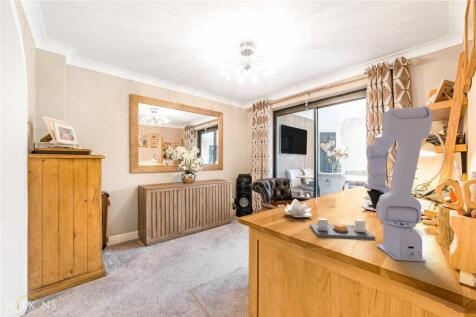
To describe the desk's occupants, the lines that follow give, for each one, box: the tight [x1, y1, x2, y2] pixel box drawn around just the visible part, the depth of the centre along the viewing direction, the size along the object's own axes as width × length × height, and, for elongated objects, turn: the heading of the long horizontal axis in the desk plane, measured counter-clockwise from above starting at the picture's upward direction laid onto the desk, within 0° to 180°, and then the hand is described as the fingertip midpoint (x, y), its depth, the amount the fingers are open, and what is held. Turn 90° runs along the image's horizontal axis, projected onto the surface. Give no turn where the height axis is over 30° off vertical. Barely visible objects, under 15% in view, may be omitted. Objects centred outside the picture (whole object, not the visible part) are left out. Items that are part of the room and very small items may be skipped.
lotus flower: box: [283, 198, 313, 218], centre depth 100 cm, size 14×15×9 cm
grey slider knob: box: [317, 218, 329, 231], centre depth 76 cm, size 2×4×4 cm, turn 83°
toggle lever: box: [354, 219, 368, 232], centre depth 75 cm, size 2×4×4 cm, turn 83°
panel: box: [309, 223, 376, 240], centre depth 77 cm, size 12×20×1 cm, turn 83°
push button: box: [333, 223, 347, 232], centre depth 76 cm, size 4×4×2 cm
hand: (376, 208), depth 78 cm, fingers closed
